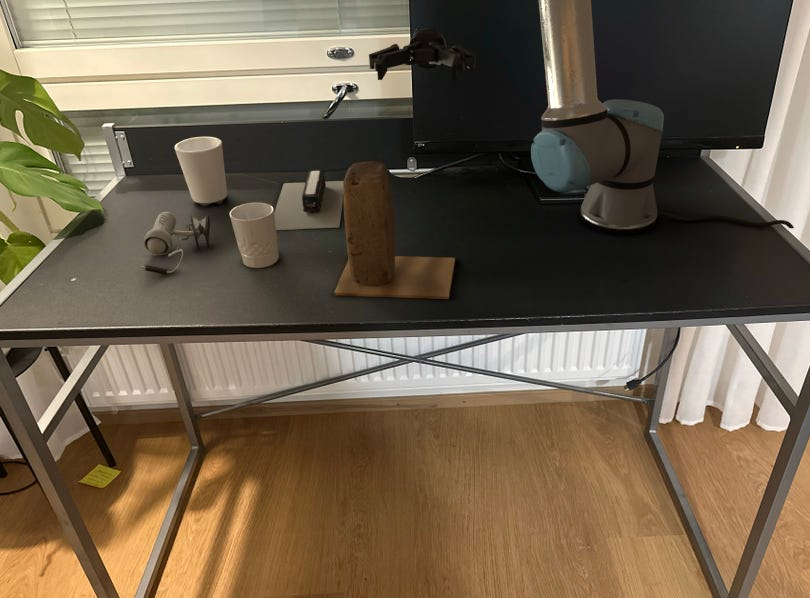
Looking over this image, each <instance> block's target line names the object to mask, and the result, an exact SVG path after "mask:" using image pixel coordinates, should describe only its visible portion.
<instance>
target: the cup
mask: <svg viewBox="0 0 810 598" xmlns="http://www.w3.org/2000/svg"><path fill="white" fill-rule="evenodd" d="M174 151H175V153H176V156H177V159H178V163H179V165H180V167H181V171H182V172H183V177H184V180H185V182H186V185H187V188H188V190H189V194H190V197H191V199H192V201H193V203H194V204H200V205H201V206H203V207H208V206H210V205H211V204H217V205H220V204H222V203H223V202H224V200H225V199H226V198H228V189H227V179H226V170H225V160H224V149H223V141H222V140H221V139H220V138H217V137H214V136H196V137H190V138H187V139H183V140H181V141H179V142H177V143H176V144H175V145H174Z"/></svg>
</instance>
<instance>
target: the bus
mask: <svg viewBox="0 0 810 598" xmlns="http://www.w3.org/2000/svg"><path fill="white" fill-rule="evenodd" d="M325 173H326V170H325V169H323V170H309V171H308V172H307V176H306V179H305V182H285V183H283V185H282V187H281V191H280V193H279V197H278V200H277V203H276V205H275V208H274V217H275V224H276V231H289V230H311V229H331V228H332V229H334V228H335V229H336V228H340V224H341V218H342V210H343V205H344V203H343V202H344V188H343V183H344V180H331V181H329V180H328V181H326V180H325V175H324V174H325Z"/></svg>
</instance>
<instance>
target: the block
mask: <svg viewBox="0 0 810 598" xmlns="http://www.w3.org/2000/svg"><path fill="white" fill-rule="evenodd" d="M343 181H344V183H343V188H344V197H343V216H344V217H343V218H344V231H345V241H346V251H347V257H348V259H349V265H350V272H351V276H352V279H353V281H354V282H356V283H358V284H360V283H361V284H363V285H380V284H383V283H385V282H388V281H390V280H391V279H392V277H393V274H394V268H395V256H396V236H395V217H394V206H393V196H392V189H391V183H390V176H389V171H388V166H387V165H386V164H385V162H383V161H375V160H372V161H371V160H369V161H368V160H367V161H361V162H360V161H359V162H354V163H352V164H351V165H350V166H349V168H348V170H347V171H346V173H345V176H344V179H343Z"/></svg>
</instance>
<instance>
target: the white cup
mask: <svg viewBox="0 0 810 598" xmlns="http://www.w3.org/2000/svg"><path fill="white" fill-rule="evenodd" d="M274 212H275V208H274V207H273V206H272V205H271V204H269V203H265V202H258V201H257V202H255V201H254V202H247V203H243V204H240V205H237V206H235V207H233V208H232V209H231V210H230V211H229V218H230V221H231V226H232V230H233V232H234V235H235V241H236V244H237V247H238V250H239V253H240V255H241V259H242V263H243V265H244V266H246V267H248V268H251V269H252V268H253V269H261V268H266V267H267V268H268V267H269V266H272V265H274V264H275V263H277V262H278V260H279V258H280V256H279V248H278V235H277V234H278V233H277V230H276V224H275V217H274Z"/></svg>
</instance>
